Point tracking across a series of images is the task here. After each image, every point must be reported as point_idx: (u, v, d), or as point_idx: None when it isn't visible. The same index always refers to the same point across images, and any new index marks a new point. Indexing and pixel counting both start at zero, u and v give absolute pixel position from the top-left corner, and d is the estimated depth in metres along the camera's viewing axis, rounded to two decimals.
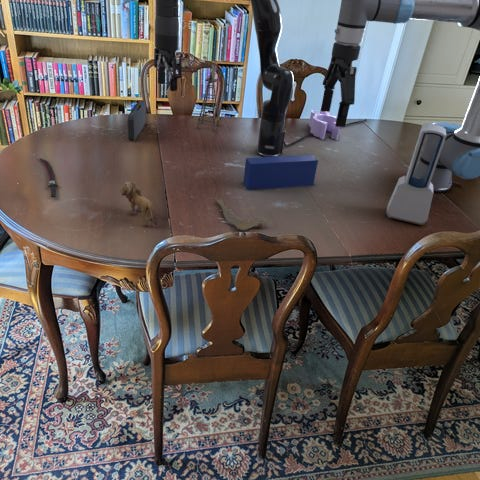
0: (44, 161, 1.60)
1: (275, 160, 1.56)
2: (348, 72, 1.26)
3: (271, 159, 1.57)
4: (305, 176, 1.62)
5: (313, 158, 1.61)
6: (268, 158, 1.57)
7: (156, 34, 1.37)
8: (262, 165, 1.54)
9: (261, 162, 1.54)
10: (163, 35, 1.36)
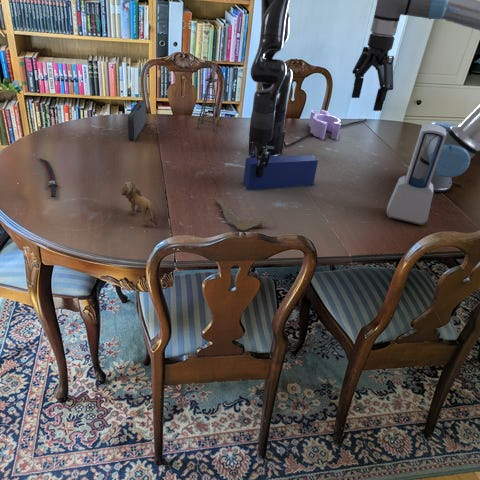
0: (44, 161, 1.60)
1: (275, 160, 1.56)
2: None
3: (271, 159, 1.57)
4: (305, 176, 1.62)
5: (313, 158, 1.61)
6: None
7: (251, 126, 1.47)
8: None
9: None
10: (256, 128, 1.46)
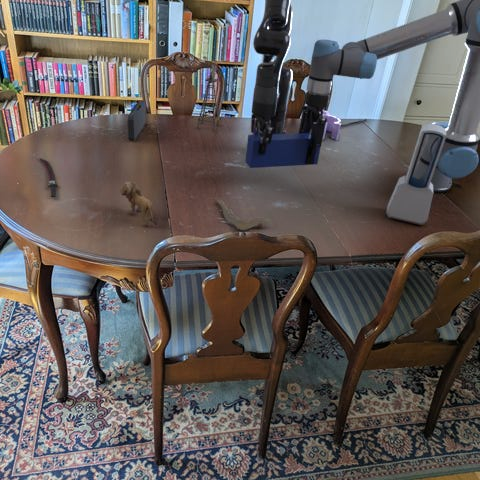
0: (44, 161, 1.60)
1: (278, 137, 1.52)
2: None
3: (274, 136, 1.52)
4: None
5: None
6: None
7: (253, 101, 1.43)
8: None
9: None
10: (259, 103, 1.41)
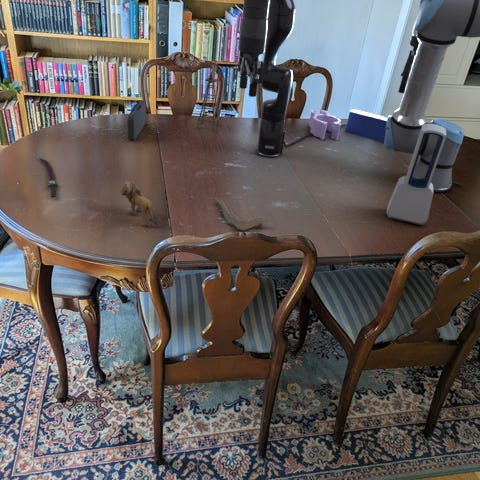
0: (44, 161, 1.60)
1: (370, 115, 2.10)
2: None
3: (369, 114, 2.11)
4: None
5: None
6: (368, 113, 2.12)
7: (241, 36, 1.31)
8: (357, 115, 2.11)
9: (358, 113, 2.11)
10: (247, 37, 1.29)
